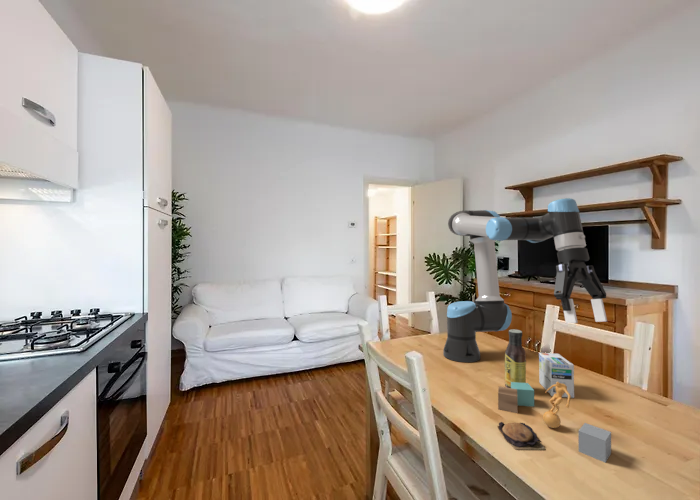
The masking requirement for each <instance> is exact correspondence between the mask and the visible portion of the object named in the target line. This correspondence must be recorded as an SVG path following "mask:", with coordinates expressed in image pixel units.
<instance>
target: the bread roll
mask: <svg viewBox="0 0 700 500" xmlns="http://www.w3.org/2000/svg"><path fill="white" fill-rule="evenodd" d="M497 429H498V431H499V432H500V434H501V435H502V436H503V438H504V440H505V442H507V443H508V444H509V445H510V446H511V447H512V448H513V449H514V450H516V451H546V447H545V446H544V445H543V444H542V443H541V442H542V440H540V439H538V435H537V434H536V433H535V431H534V430H533V428H532V427H530V426H529V425H528V424H525V422H509V423H504V422H503V421H500V422H498V425H497Z"/></svg>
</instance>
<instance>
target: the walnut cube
mask: <svg viewBox="0 0 700 500" xmlns="http://www.w3.org/2000/svg"><path fill="white" fill-rule="evenodd" d="M497 391H498V392H497V405H498V406H497V409H498V410H499V411H504V412H510V413H514V414H518V405H517V389H512V388H507V387H505V386H501V385H500V386H498V390H497Z"/></svg>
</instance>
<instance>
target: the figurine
mask: <svg viewBox="0 0 700 500" xmlns="http://www.w3.org/2000/svg"><path fill="white" fill-rule="evenodd" d="M553 387H556V388H555V389H556V394H554V395H553V396H551V398H550V399H549V403H550V404H551V405H552V407H551V408H550V409H548V410H547V411H545V412H544V413H543V416H542V421H543V423H544V424H545V425H546V426H547V427H548V428H551V429H557V428H558V427H560V426H561V423H562V422H561V421H562V420H561V418H560V416H559V415H558V412H559V411H560V406H559V405H560V404H561V403H562V402H563V400H564V398H563V397H562V395H563V394H564V393H566V394H567V395H568V397H567V403H566V404H565V408H567V409H569V408H570V401H571V399H572V398H571V396H570V394H569V392H568V391H567V386H566V385H565V384H562V383H559V382H556V384H554V385H552V386H551V387H550V388H548V389H547V390H546V389H545V392H544V393H545V394H547V393H548V392H547V391H548V390H550V389H551V388H553ZM555 409H556V410H555Z"/></svg>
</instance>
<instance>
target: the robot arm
mask: <svg viewBox="0 0 700 500" xmlns="http://www.w3.org/2000/svg"><path fill="white" fill-rule="evenodd" d="M447 226H448V229H449V231H450V232H451V233H453V235H456V236H461V237H469V242H471V243H472V244H473V245H474V246H473V248H474V257H475V259H474V260H475V269H476V270H475V271H476V279H477V280H476V281H477V292H478V297H477V298H476V299H475V301H470V300H465V301H463V300H461V301H455V302H452V303H450V304H448V306H447V308H446V309H447V312H446V320H447V321H446V325H447V326H446V327H447V331H446V333H447V334H446V335H447V338H446V340H445V343H444V346H443V349H442V350H443V352H442V353H443V356H444V357H445V358H446V359H447V360H451V361H452V362H453V361H454V362H458V363H459V362H460V363H475V362H478V361H480V360H481V352H480V349H479V345H478V343H477V340H476V339H477V338H476V336H477V335H476V334H477V333H481V332H482V333H485V332H495V333H496V332H499V331H500V332H501V331H506V330H507V329H508V328H509V327H510V325H511V323H512V319H513V315H512V310H511V308H510V306H509V305H508V304H506V303H505V299H504V298H502V297H501V296H500V285H499V284H500V283H499V275H498V267H497V265H498V264H497V255H496V248H495V247H496V244H495V242H496V241H499V242H502V241H527V242H529V243H532V244H536V243H541V242H545V241H546V240H548V239H551V238H553V240H554V241H553V242H554V246H555V250H556V251H557V252H556V255H557V260H558V264H556V265H555V269H556V276H555V283H554V284H555V285H554V291H553V297H554V298H555V300H559V301H560V302H561V305H562V306H561V308H562V311H563V316H564V320H565V324H578V318H577V313H576V308H575V303H574V299H573V298H571V296H572V293H573V291H574V286H575V283H576V282H578V283H580V284H581V285H582V286H583V287H584V289H585V290H586V292H587V293H588V294H589V295H590V297H591V299H590V303H591V308H592V312H593V316H594V321H595V322H596V323H598V322H599V323H601V322H608V317H607V314H606V310H605V305H604V300H603V299H607V292H606V290H605V289H604V287H603V285H602V283H601V281H600V279H599V276H597V273H596V271H595V268H594V265H586V262H588V261H589V260H590V255H589V252H588V248H587V247H586V246H587V244H586V243H587V242H586V235H585V234H584V230H583V225H582V220H581V215H580V210H579V207H578V204H577V201H576V200H575V199H574V198H569V197H568V198H567V197H566V198H565V197H564V198H560V199H559V198H558V199H556V200H553V201H551V202H549V203H548V205H547V213H545V214H543V215H541V216H539V217H501V215H500V214H499V213H498V212H496V211H495V210H487V209H483V210H481V209H480V210H459V211H456V212H455V213H453V214H452V215H451V216H450V217H449V219H448V223H447Z"/></svg>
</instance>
